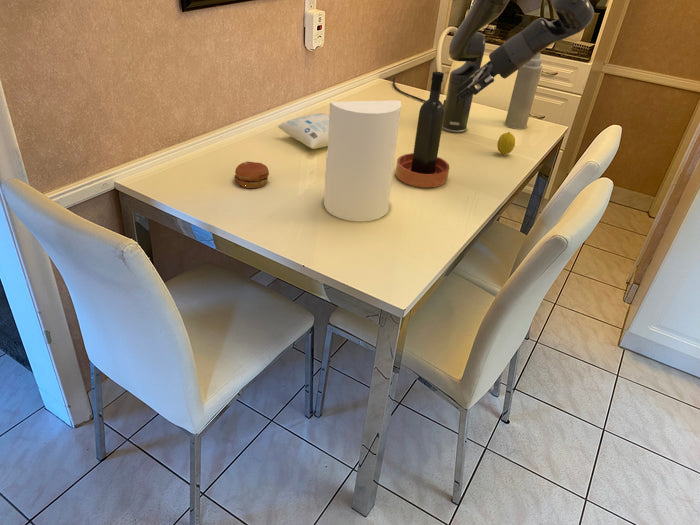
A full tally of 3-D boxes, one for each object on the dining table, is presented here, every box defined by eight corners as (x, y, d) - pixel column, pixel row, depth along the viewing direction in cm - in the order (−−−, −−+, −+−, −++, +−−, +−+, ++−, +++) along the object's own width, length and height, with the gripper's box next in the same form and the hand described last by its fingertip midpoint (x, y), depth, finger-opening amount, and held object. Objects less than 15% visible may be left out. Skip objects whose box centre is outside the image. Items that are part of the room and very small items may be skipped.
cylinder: (397, 218, 135) (412, 112, 119) (333, 224, 131) (339, 114, 115) (376, 188, 149) (387, 89, 133) (317, 192, 144) (321, 90, 128)
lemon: (512, 159, 173) (518, 136, 168) (495, 157, 174) (500, 133, 169) (511, 153, 177) (517, 130, 173) (494, 150, 178) (500, 128, 174)
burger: (253, 192, 142) (252, 176, 139) (227, 182, 146) (226, 166, 143) (276, 180, 149) (276, 164, 146) (251, 171, 153) (250, 156, 150)
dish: (385, 171, 159) (387, 157, 156) (425, 163, 166) (427, 150, 163) (415, 193, 148) (417, 178, 145) (457, 183, 155) (460, 169, 152)
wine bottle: (420, 169, 160) (436, 68, 143) (435, 176, 157) (453, 74, 139) (408, 174, 156) (423, 71, 139) (423, 181, 153) (440, 77, 136)
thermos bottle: (505, 120, 205) (524, 44, 189) (526, 123, 203) (546, 48, 187) (504, 126, 199) (522, 49, 183) (525, 130, 197) (546, 52, 181)
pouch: (311, 134, 158) (360, 120, 169) (275, 117, 170) (323, 104, 181) (312, 158, 163) (359, 143, 174) (277, 140, 175) (323, 127, 186)
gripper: (504, 37, 137) (453, 76, 146) (503, 49, 126) (448, 90, 135) (520, 60, 139) (469, 98, 148) (520, 74, 128) (465, 113, 137)
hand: (459, 94), depth 141 cm, fingers open, 8 cm apart
